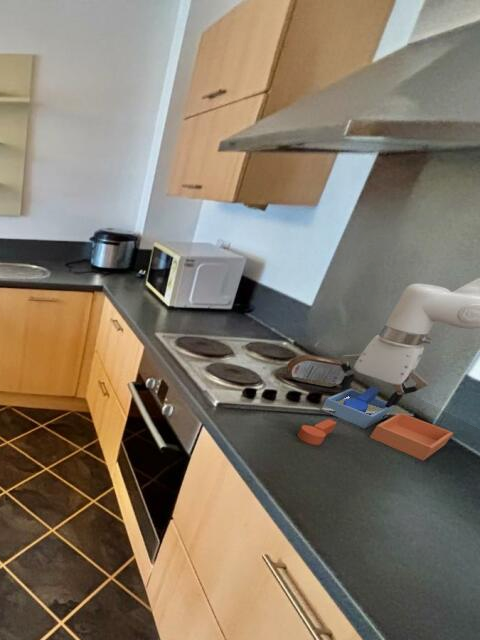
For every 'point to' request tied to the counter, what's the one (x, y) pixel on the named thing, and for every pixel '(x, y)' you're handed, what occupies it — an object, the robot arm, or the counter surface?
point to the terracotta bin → (411, 435)
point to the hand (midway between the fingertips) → (365, 397)
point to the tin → (316, 369)
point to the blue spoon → (362, 399)
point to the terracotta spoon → (316, 432)
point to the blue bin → (353, 414)
